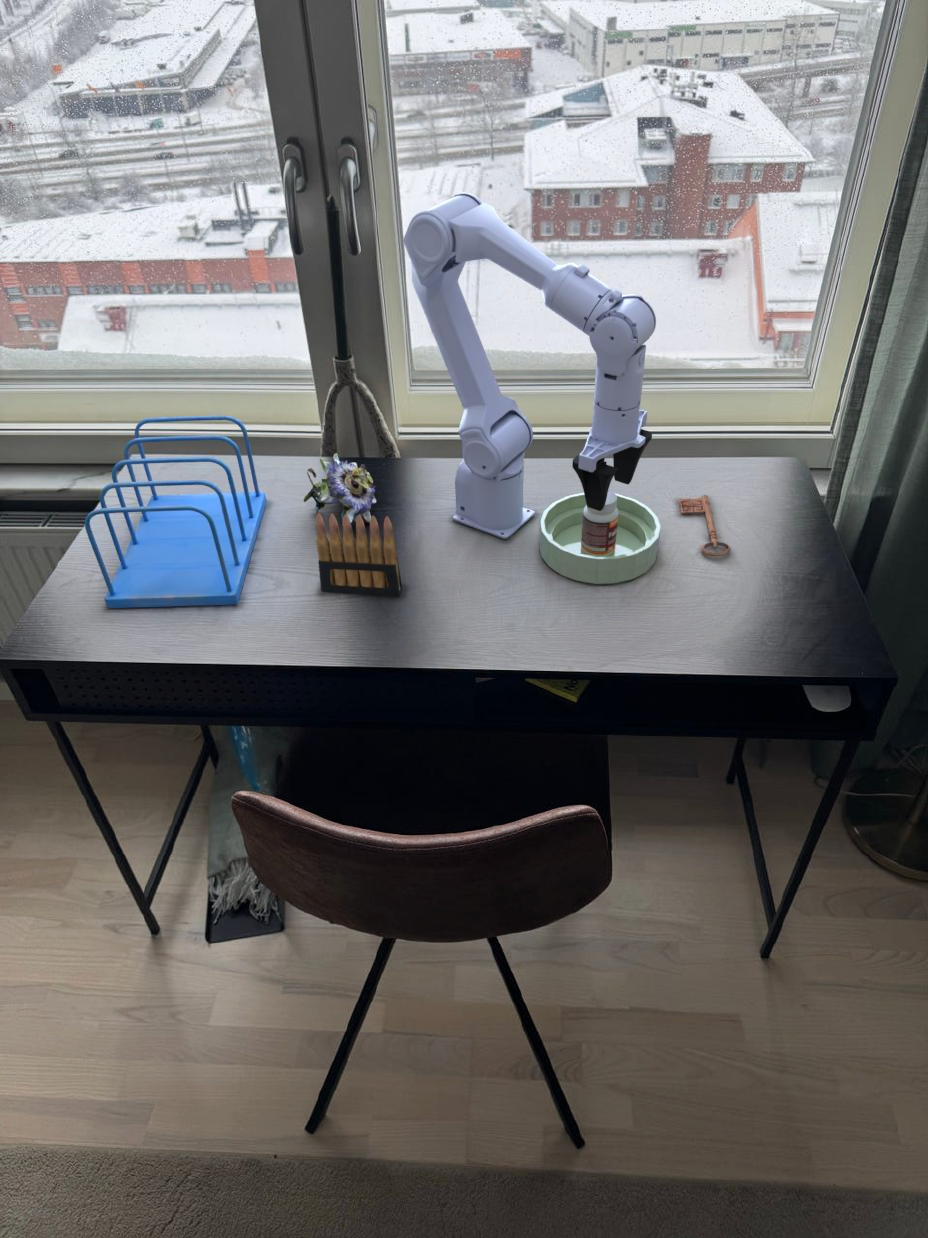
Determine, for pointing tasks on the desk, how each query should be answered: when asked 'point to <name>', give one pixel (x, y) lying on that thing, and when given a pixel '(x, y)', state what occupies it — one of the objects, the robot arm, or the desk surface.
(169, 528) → the file sorter
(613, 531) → the pill bottle
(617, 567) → the bowl
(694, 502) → the key
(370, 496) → the passion flower
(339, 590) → the ammunition clip
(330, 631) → the desk surface
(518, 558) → the desk surface
